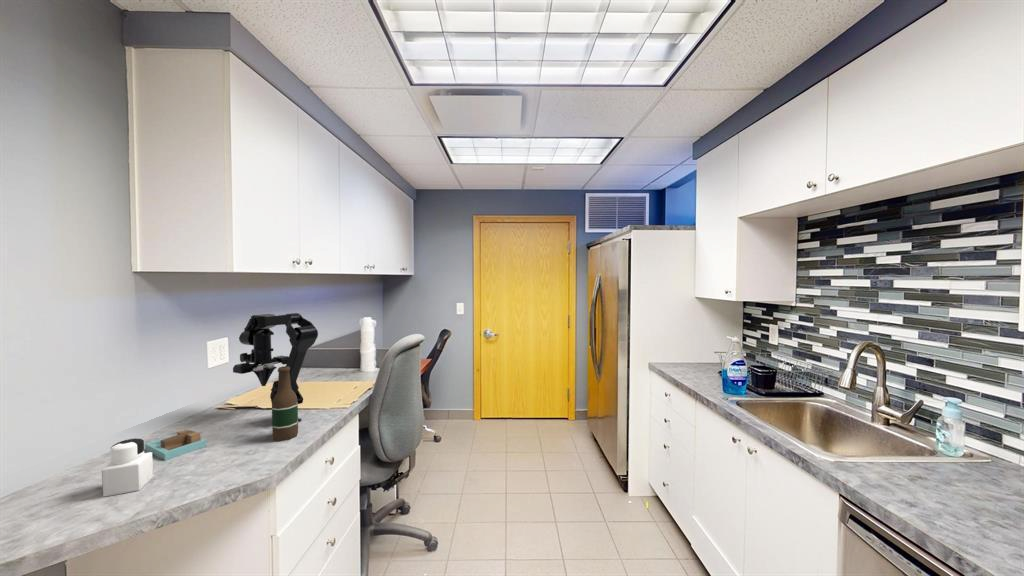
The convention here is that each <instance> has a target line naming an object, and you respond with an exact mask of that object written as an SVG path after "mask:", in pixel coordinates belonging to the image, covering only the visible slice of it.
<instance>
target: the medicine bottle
mask: <svg viewBox="0 0 1024 576" xmlns="http://www.w3.org/2000/svg"><path fill="white" fill-rule="evenodd" d="M109 448H110V463H108V464H107V465H106V466H104V467H103V468H102V469H101V478H102V479H101V480H102V481H101V482H102V483H101V485H102V496H103V497H111V496H117V495H121V494H123V495H124V494H128V493H133V492H139V491H140V490H141V489H143V487H145V486H146V485H147V483H149V481H150V480H152V478H154V466H153V461H154V460H153V454H152V452H145V442H144V439H142V438H129V439H124V440H121V441H118V442H116V443H115V444H113V445H112V446H111V447H109Z"/></svg>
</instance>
